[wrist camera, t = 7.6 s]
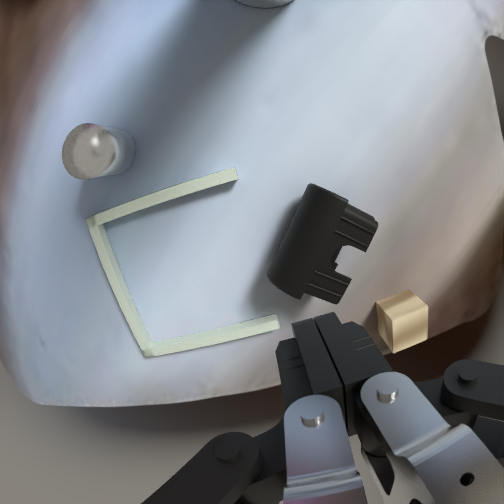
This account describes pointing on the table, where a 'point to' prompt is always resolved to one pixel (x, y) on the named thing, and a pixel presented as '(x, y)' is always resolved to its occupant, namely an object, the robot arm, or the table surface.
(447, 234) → the table surface
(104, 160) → the grey metal tin
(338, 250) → the end cap
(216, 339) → the pale green frame
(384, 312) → the maple block
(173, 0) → the table surface
